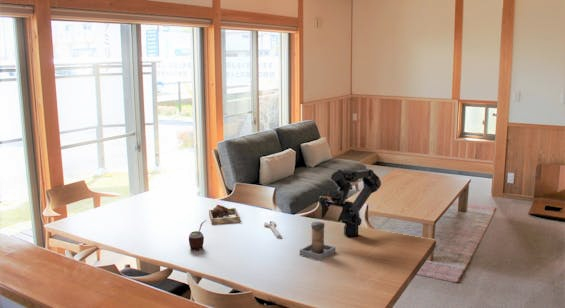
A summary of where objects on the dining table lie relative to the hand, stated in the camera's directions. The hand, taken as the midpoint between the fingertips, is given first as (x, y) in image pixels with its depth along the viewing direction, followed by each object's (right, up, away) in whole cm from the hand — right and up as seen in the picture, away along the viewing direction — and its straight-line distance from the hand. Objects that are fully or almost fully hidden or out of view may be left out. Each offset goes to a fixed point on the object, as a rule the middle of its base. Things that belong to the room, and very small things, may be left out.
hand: (330, 219), depth 253 cm
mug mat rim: (-56, -5, +48) cm, 74 cm away
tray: (-6, -15, -6) cm, 17 cm away
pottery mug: (-58, -5, +50) cm, 77 cm away
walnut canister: (-6, -14, -6) cm, 17 cm away
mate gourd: (-63, -14, +1) cm, 65 cm away
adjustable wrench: (-28, -10, +27) cm, 40 cm away
